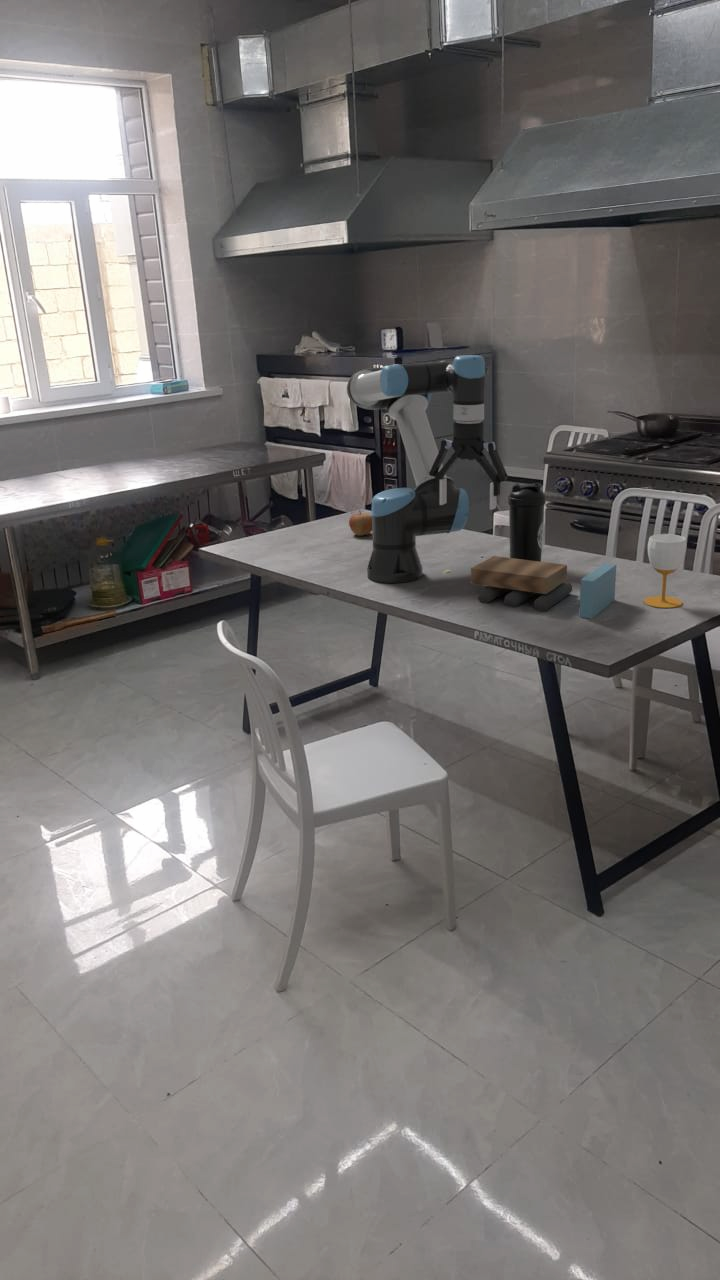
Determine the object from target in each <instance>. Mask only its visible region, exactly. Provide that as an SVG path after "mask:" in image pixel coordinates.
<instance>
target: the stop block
mask: <svg viewBox="0 0 720 1280" xmlns="http://www.w3.org/2000/svg"><path fill="white" fill-rule="evenodd" d="M616 577H617V564H615V563H607V562H606V563H605V562H604V563H602V564H601V565H599V566H598V567H597V568H596V569H594V570H593V571H591V572H590V573H588V574H587V575H585V576H584V577H583V578H581V579H580V587H579V591H580V592H579V609H578V610H579V612H578V613H579V614H578V617H580V618H586V619H593V618H595V616H597V614H599V613H600V612H602V611H603V610H604V609H605V608H606V607H607V606H609V605H610V604H611V603H612V602H614V601H615V599H616V598H615V597H616V581H617V580H616Z"/></svg>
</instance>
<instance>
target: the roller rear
mask: <svg viewBox="0 0 720 1280" xmlns="http://www.w3.org/2000/svg"><path fill="white" fill-rule="evenodd" d="M509 590H510V589H505V588H498V587H491V586H485V588H483V589H481V590H479V592H478V593H477V599H478V600H479V602H480V603H483V604H484V603H485V604H489V603H490V602H491V601H493V600H495V599H497V598H499V597H500V596H502V595H503V594H504V593H507V592H508V591H509Z"/></svg>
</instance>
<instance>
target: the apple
mask: <svg viewBox="0 0 720 1280" xmlns="http://www.w3.org/2000/svg"><path fill="white" fill-rule="evenodd" d="M358 512H359V513H355V514H352V515H351V516H350V518H349V521H348V525H349V527H350V531H351V532H352V533H353V534H354V535H356V536H358V537H362V536H367V535H369V534H371V533H372V515H371V514H369V513H367V512H366V513H365V512H363V513H362V512H361V510H359V511H358Z"/></svg>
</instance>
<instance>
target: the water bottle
mask: <svg viewBox="0 0 720 1280" xmlns="http://www.w3.org/2000/svg"><path fill="white" fill-rule="evenodd" d="M542 485H543V484H542V483H540V482H536V483H535V482H533V483H528V484H524V485H523V484H522V485H521V484H520V483H518V482H515V483H513V485H512V490H511V491H510V493H509V495H508V496H507V504H508V505H509V506H508V511H509V513H508V514H509V515H508V517H509V518H508V519H509V558H514V559H523V560H531V561H539V562H542V553H543V551H542V549H543V537H544V536H543V534H544V521H545V520H544V516H545V515H544V514H545V506H546V503H547V496H546V495H545V493H544V491H543V490H542V489H541V488H542Z"/></svg>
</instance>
